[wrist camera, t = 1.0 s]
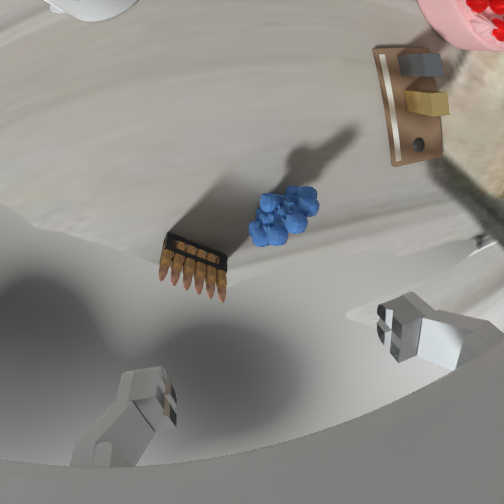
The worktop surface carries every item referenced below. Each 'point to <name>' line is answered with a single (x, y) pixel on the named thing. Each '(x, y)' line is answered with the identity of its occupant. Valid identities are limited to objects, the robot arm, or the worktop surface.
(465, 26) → the cake
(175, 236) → the ammunition clip
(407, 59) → the grey rectangular block
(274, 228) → the grapes
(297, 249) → the worktop surface
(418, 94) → the wooden block
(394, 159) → the brown flat rectangular board
